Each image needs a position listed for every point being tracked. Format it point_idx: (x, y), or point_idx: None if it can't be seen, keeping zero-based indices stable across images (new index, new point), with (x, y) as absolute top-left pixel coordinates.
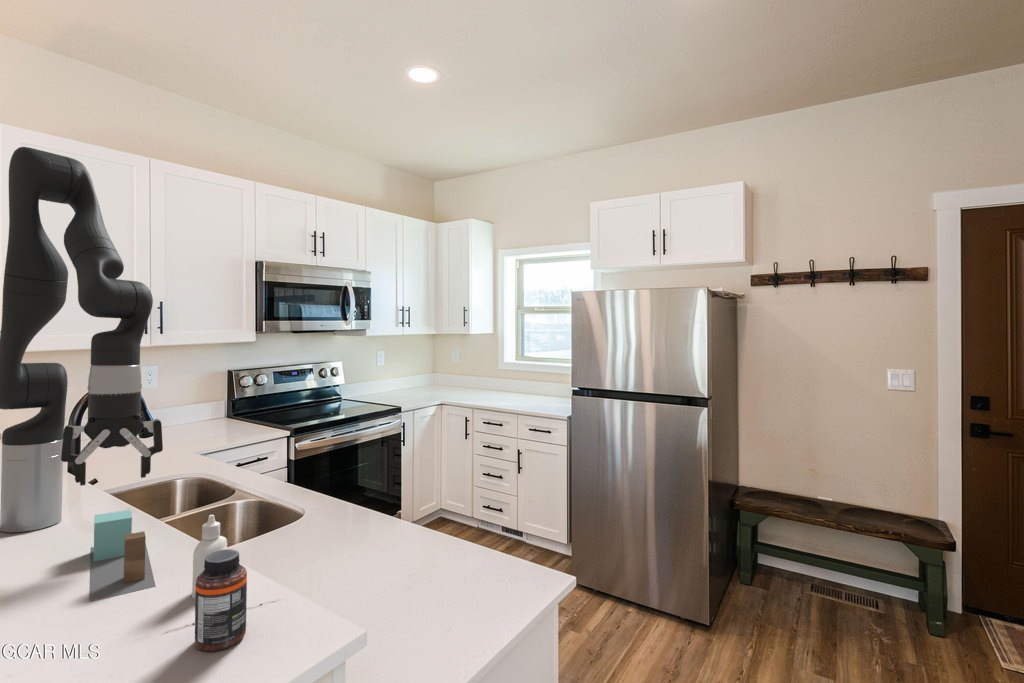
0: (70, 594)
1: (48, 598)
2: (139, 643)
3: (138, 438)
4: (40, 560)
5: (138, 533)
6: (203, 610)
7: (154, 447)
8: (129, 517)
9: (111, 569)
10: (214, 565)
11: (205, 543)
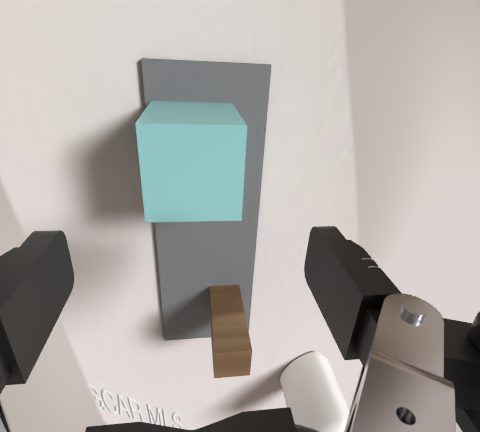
0: (134, 293)
1: (103, 292)
2: None
3: (450, 429)
4: (24, 63)
5: (239, 357)
6: None
7: (460, 405)
8: (235, 215)
9: (191, 241)
10: None
11: None
